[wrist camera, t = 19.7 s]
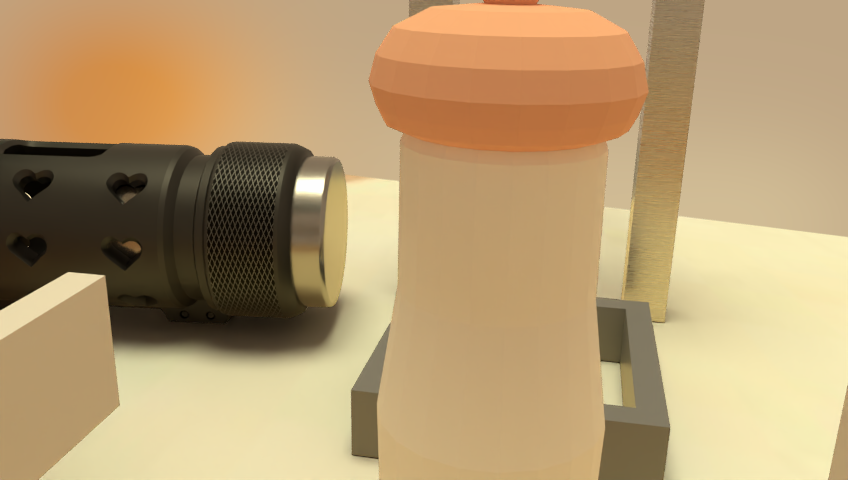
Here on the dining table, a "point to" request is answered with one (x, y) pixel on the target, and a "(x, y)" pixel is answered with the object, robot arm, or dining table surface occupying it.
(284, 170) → the muzzle brake
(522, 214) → the pepper shaker
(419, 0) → the frame
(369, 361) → the grey shallow square frame
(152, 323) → the dining table surface
